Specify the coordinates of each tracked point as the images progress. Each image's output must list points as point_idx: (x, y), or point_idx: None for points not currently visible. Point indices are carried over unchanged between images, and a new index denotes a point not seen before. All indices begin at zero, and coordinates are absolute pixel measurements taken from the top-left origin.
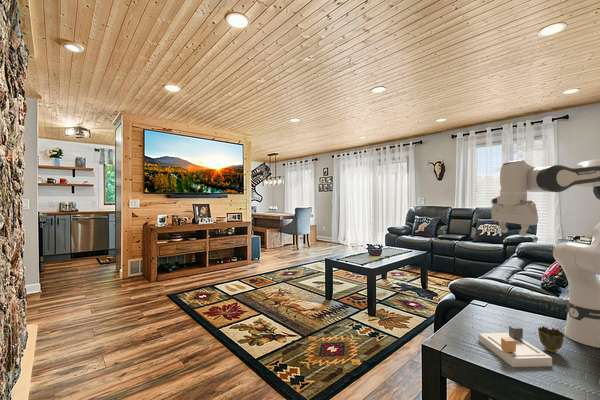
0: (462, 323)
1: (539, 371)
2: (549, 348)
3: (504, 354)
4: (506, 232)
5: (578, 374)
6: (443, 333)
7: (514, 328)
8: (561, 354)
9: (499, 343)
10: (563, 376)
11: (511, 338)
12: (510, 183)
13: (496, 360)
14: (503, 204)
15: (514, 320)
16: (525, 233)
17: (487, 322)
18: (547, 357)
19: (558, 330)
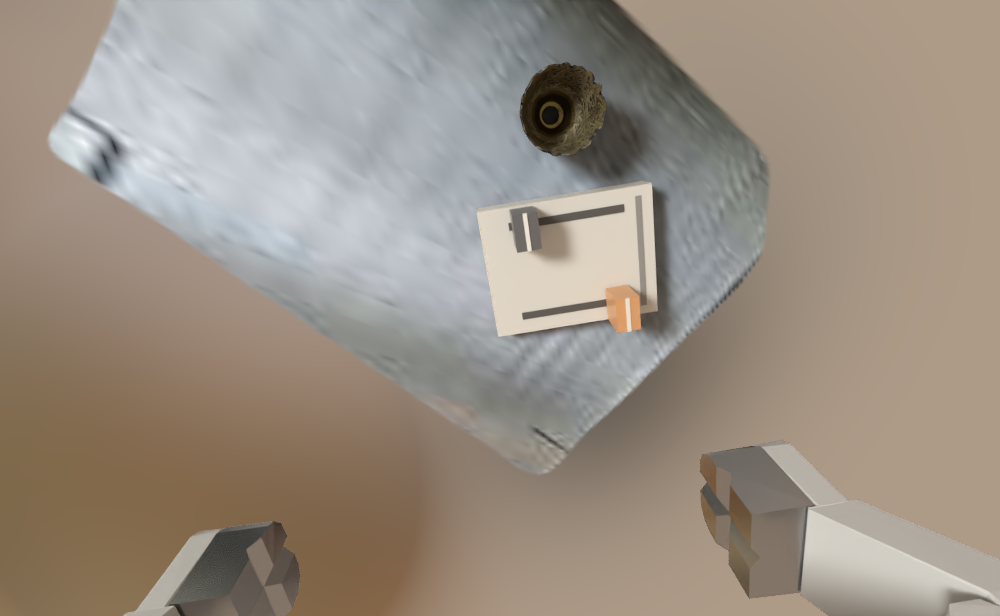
0: (362, 326)
1: (668, 238)
2: (567, 130)
3: None
4: (284, 537)
5: (684, 128)
6: (460, 414)
7: (539, 244)
8: None
9: (567, 302)
10: (693, 184)
11: (621, 301)
12: None
13: (614, 328)
14: None
15: (274, 83)
16: (809, 479)
17: (329, 223)
18: (651, 198)
19: (551, 66)
